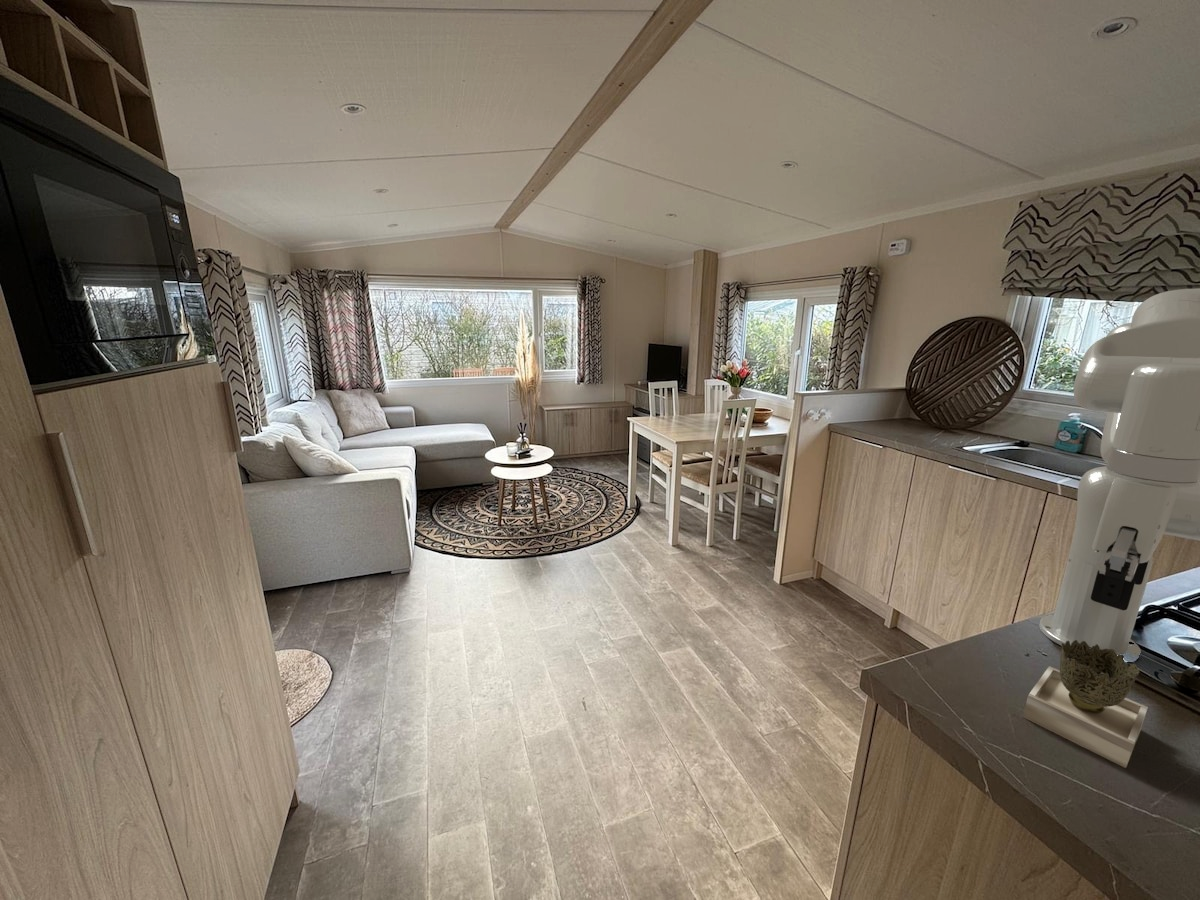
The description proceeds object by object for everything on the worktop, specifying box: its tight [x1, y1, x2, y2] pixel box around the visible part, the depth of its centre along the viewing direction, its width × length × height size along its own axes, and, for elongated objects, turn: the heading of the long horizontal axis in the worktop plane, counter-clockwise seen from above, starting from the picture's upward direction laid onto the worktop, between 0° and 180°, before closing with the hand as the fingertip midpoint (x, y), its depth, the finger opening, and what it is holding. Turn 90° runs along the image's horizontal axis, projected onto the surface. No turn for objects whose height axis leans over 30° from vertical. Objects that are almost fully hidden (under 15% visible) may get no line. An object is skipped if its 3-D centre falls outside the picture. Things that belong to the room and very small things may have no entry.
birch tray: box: [1022, 665, 1149, 769], centre depth 67 cm, size 10×10×4 cm
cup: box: [1059, 640, 1141, 713], centre depth 66 cm, size 8×7×8 cm
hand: (1116, 591), depth 63 cm, fingers open, 9 cm apart
